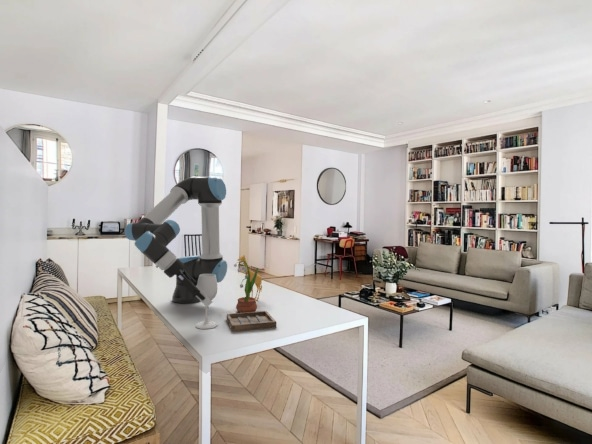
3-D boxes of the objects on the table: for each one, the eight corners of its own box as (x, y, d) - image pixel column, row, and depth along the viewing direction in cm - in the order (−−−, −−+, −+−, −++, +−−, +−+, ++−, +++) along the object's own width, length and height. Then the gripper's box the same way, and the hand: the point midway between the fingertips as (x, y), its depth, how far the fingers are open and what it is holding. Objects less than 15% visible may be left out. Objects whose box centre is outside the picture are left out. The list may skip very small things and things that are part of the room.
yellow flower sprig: (239, 305, 171) (240, 255, 170) (234, 303, 174) (235, 255, 173) (264, 299, 182) (265, 253, 182) (259, 298, 186) (260, 252, 185)
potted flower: (235, 315, 153) (236, 261, 152) (229, 309, 162) (230, 258, 161) (260, 312, 158) (261, 260, 158) (252, 307, 167) (254, 257, 167)
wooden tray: (226, 319, 147) (226, 313, 147) (266, 316, 153) (266, 310, 153) (232, 331, 132) (232, 325, 132) (276, 327, 138) (276, 321, 138)
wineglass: (211, 330, 134) (212, 277, 133) (191, 328, 135) (192, 276, 135) (220, 323, 142) (221, 273, 142) (201, 321, 144) (202, 272, 143)
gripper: (163, 266, 144) (199, 299, 149) (161, 277, 120) (203, 315, 126) (177, 253, 145) (212, 286, 151) (177, 262, 122) (218, 300, 127)
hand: (208, 300), depth 138 cm, fingers open, 13 cm apart
